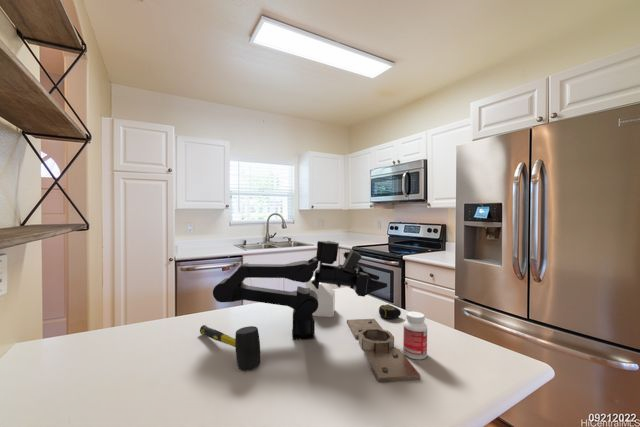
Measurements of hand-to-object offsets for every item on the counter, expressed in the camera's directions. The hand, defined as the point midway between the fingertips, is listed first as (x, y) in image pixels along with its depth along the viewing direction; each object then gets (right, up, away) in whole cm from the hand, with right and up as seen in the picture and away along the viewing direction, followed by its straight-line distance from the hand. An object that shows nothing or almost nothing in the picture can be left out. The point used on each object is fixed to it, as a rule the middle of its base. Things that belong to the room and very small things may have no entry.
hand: (382, 281), depth 87 cm
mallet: (-47, -17, -10) cm, 51 cm away
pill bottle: (+6, -17, -12) cm, 22 cm away
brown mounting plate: (-4, -17, -7) cm, 19 cm away
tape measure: (+6, -17, +15) cm, 24 cm away
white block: (-20, -17, +20) cm, 33 cm away
